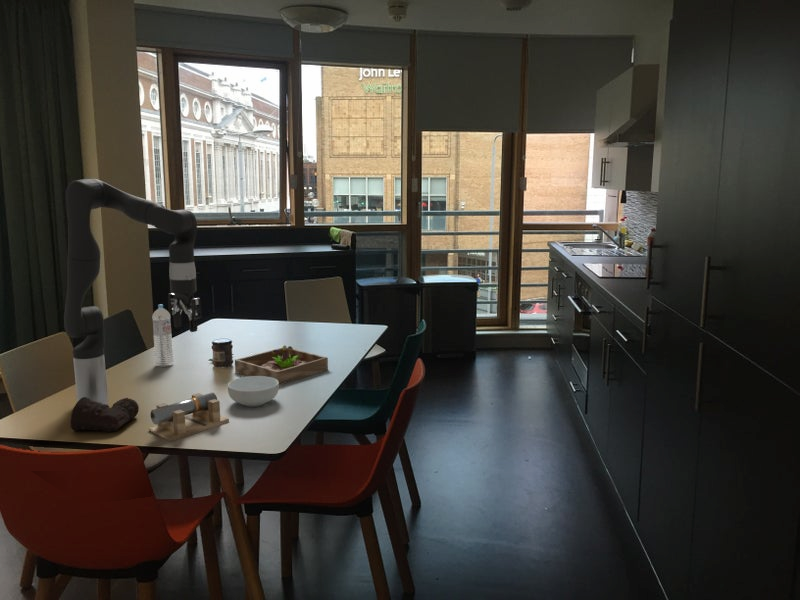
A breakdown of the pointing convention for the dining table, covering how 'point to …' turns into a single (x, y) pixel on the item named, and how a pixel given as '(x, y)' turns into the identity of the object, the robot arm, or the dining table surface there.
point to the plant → (283, 360)
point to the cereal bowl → (253, 390)
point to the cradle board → (190, 421)
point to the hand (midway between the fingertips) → (185, 329)
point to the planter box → (254, 368)
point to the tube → (181, 408)
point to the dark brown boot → (102, 414)
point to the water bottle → (162, 337)
